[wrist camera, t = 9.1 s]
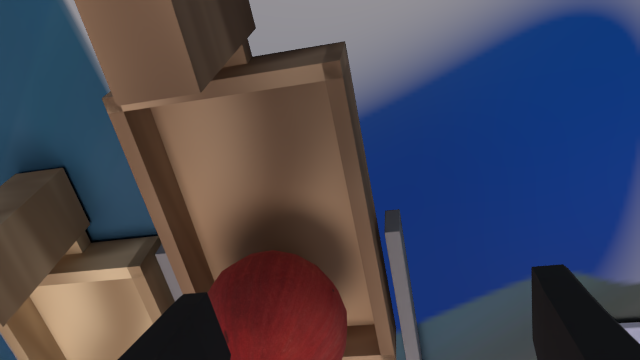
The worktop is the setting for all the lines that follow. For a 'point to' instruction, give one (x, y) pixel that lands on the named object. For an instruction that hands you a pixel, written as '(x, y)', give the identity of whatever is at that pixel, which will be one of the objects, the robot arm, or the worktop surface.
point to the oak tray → (70, 276)
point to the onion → (279, 309)
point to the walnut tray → (244, 150)
